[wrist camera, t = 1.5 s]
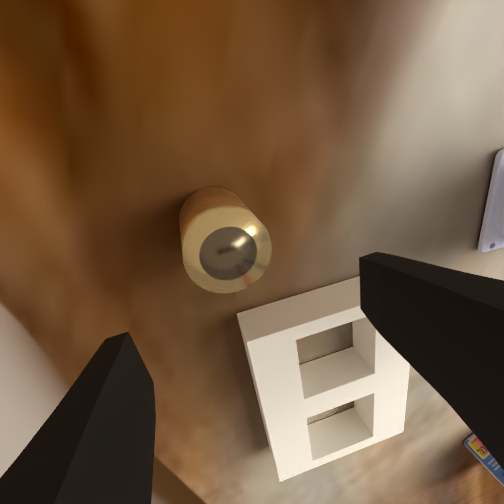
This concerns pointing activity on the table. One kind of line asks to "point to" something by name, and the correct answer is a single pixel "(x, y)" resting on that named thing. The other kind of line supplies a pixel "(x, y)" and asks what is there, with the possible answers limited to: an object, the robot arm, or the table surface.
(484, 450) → the ink cartridge box
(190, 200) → the brass bushing
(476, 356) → the robot arm
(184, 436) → the table surface
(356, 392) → the jig plate
